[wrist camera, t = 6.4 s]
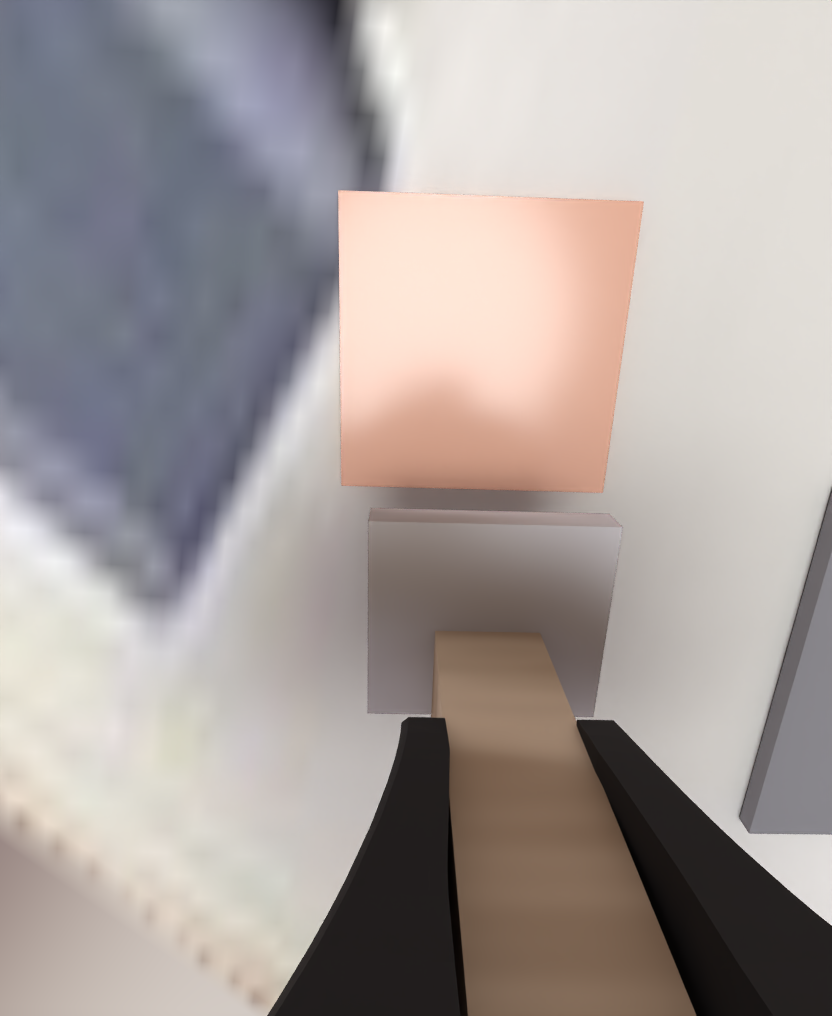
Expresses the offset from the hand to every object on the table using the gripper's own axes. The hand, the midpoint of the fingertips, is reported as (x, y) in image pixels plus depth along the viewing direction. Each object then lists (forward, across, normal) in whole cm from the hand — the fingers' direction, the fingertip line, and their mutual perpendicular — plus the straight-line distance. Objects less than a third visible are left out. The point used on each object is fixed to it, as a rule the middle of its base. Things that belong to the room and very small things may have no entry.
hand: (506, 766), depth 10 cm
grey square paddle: (+4, 0, -1) cm, 4 cm away
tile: (+8, 0, -3) cm, 8 cm away
